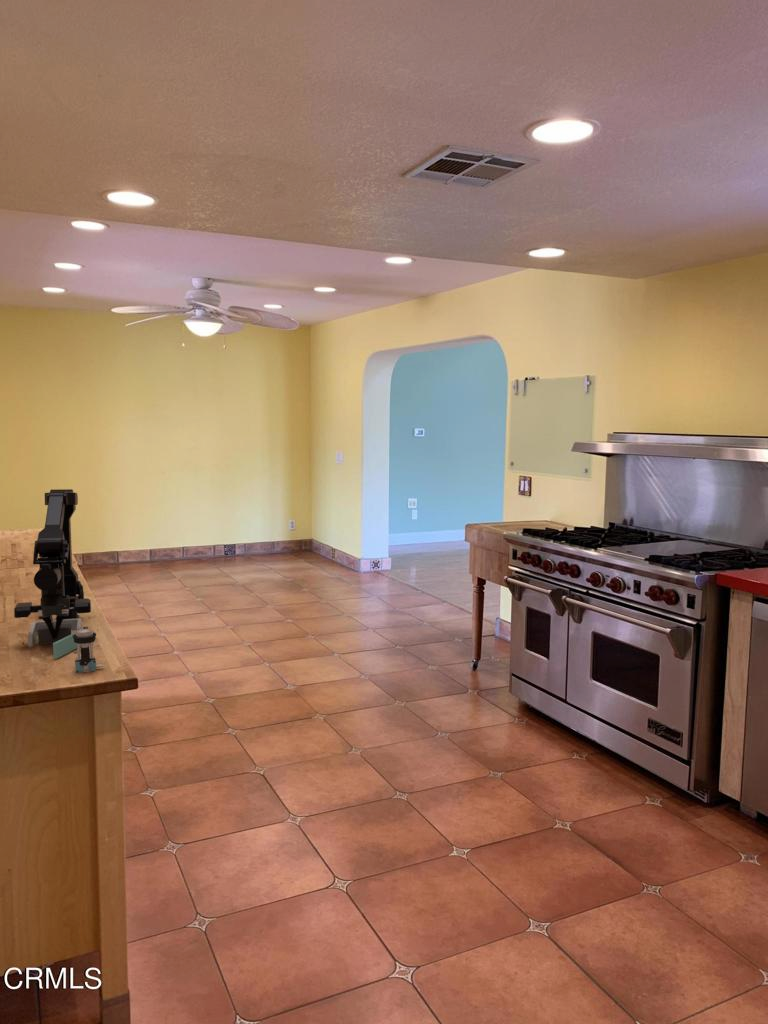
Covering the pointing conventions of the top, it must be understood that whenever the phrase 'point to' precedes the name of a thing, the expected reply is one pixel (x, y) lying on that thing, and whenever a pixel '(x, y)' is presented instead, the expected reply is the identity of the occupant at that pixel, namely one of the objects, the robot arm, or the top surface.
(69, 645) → the bar
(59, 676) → the top surface
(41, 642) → the block
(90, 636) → the push button
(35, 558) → the robot arm
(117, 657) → the top surface
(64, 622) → the frame
